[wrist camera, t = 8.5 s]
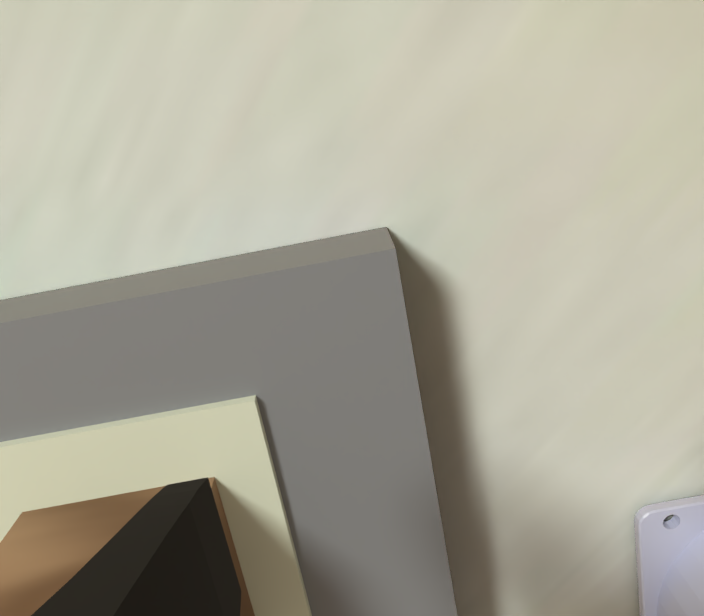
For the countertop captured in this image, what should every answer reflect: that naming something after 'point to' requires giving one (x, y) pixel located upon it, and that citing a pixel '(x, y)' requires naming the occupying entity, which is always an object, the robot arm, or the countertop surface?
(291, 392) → the slate board
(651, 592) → the robot arm
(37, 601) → the walnut cube
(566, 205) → the countertop surface
